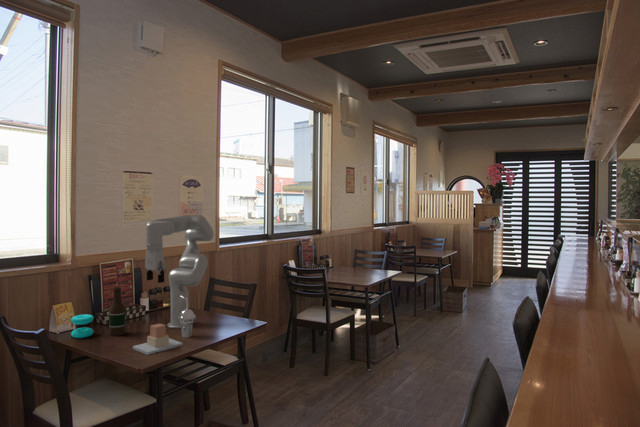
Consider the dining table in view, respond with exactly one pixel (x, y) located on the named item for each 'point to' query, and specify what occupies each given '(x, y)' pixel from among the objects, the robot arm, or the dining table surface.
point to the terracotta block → (157, 330)
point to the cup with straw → (186, 320)
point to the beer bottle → (117, 315)
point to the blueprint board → (153, 350)
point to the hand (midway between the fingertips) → (155, 281)
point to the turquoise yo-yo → (85, 330)
